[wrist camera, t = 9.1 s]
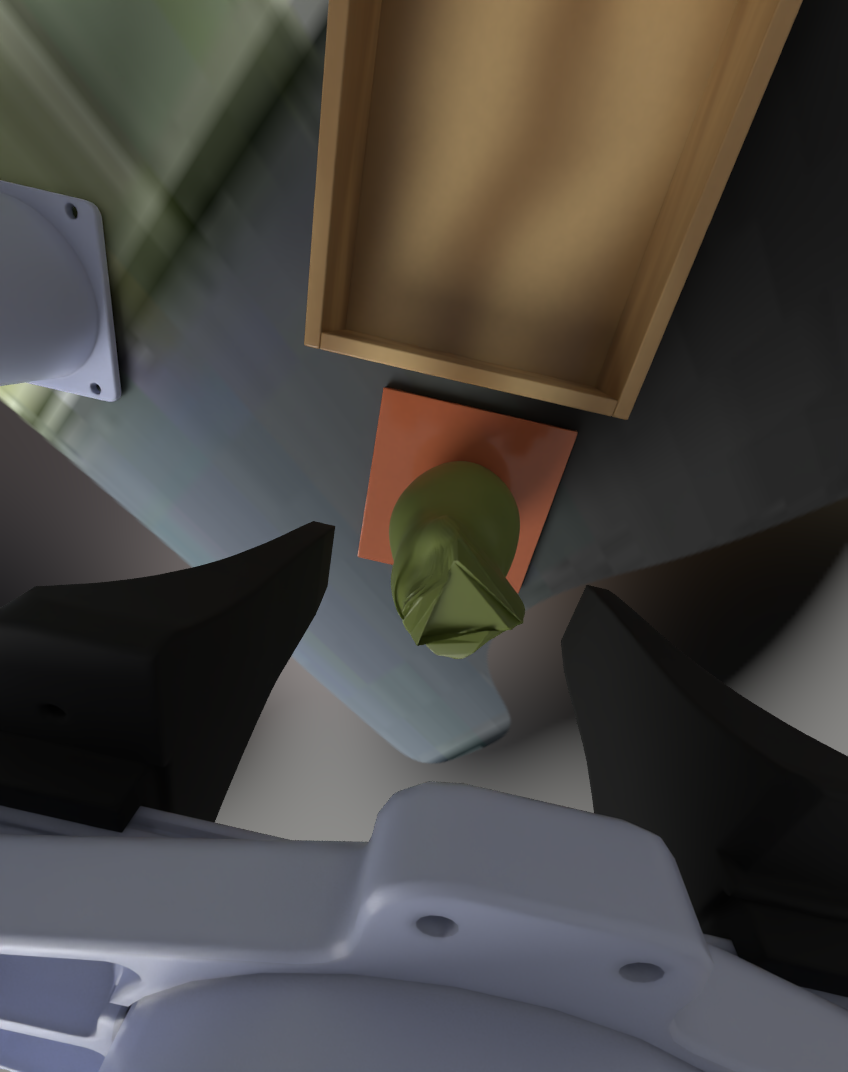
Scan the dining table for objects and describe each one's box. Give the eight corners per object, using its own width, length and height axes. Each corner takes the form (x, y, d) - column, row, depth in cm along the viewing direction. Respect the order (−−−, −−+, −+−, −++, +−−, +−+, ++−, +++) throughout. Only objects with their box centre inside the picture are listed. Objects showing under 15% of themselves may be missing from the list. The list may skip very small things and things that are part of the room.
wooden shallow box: (332, 340, 19) (303, 345, 16) (384, -175, 13) (352, -349, 10) (600, 402, 19) (628, 420, 16) (785, -80, 13) (895, -220, 10)
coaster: (358, 553, 24) (357, 557, 24) (385, 386, 20) (383, 387, 20) (517, 589, 24) (518, 593, 24) (576, 430, 20) (578, 432, 20)
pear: (383, 488, 22) (321, 607, 13) (469, 423, 20) (466, 507, 11) (451, 567, 23) (438, 720, 15) (536, 513, 22) (581, 650, 13)
